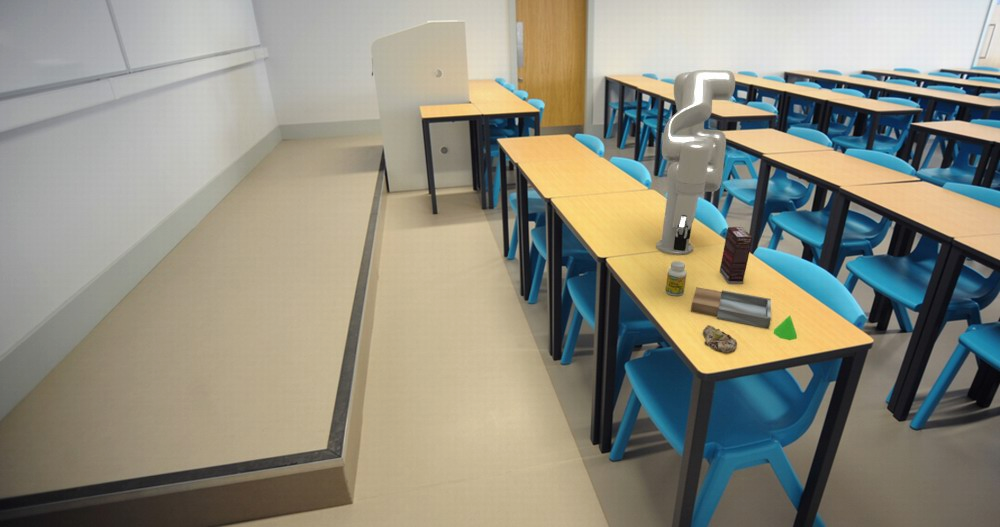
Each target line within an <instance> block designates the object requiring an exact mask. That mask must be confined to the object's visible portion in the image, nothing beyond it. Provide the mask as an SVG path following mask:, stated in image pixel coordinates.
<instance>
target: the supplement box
mask: <svg viewBox="0 0 1000 527" xmlns="http://www.w3.org/2000/svg"><path fill="white" fill-rule="evenodd" d="M753 239H754V238H753V236H752V234H750V233H749V232H748V231H747V230H746V229H745V228H743V227H740V226H739V227H738V226H735V227H734V226H733V227H732V226H730V227H727V230H726V235H725V240H724V244H723V250H722V256H721V262H720V266H719V273H720V275H721V276H722V278H724V280H725V281H726V282H727V284H729V285H730V284H733V285H735V284H736V285H738V284H739V285H743V284H744V281H745V280H744V279H745V276H746V275H745V274H746V271H747V270H746V269H747V265H748V262H749V257H750V253H751V247H752V242H753Z"/></svg>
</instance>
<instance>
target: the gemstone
mask: <svg viewBox="0 0 1000 527" xmlns="http://www.w3.org/2000/svg"><path fill="white" fill-rule="evenodd" d="M792 319H793V318H792V316H791V315H789V316H787V317H786V318H785V319H784V320H783V321H782V322H781V323H780V324H779V325H777V326H776V327H775V328H774V330H773V334H774V335H775V336H777V338H779V339H783V340H787V341H792V340H796V339H797V338H798V337H797V336H798V334H797V331H796V328H795V326H794V323H793V320H792Z"/></svg>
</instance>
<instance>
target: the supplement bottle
mask: <svg viewBox="0 0 1000 527" xmlns="http://www.w3.org/2000/svg"><path fill="white" fill-rule="evenodd" d="M686 279H687V271H686V263H685V262H683V261H680V260H675V261H674V260H673V261H671V263H670V268H669V269H668V270H667V275H666V283H665V293H667V294H668V295H670V296H673V297H674V296H675V297H678V296H679V297H680V296H682V295H683V294H684V293H685V287H686Z"/></svg>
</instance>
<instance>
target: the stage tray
mask: <svg viewBox="0 0 1000 527" xmlns="http://www.w3.org/2000/svg"><path fill="white" fill-rule="evenodd" d="M691 303H692V304H691V307H690V308H691V309H690V312H691V313H696V314H701V315H706V316H712V317H715V318H716V319H717V320H723V321H727V322H733V323H737V324H742V325H747V326H752V327H758V328H762V329H763V328H764V329H770V325H771V320H772V299H771V298H768V297H762V296H758V295H752V294H751V295H750V294H746V293H740V292H734V291H729V290H723V289H722V290H721V291H720V290H715V289H709V288H703V287H697V286H696V287H695V291H694V295H693V298H692V302H691Z"/></svg>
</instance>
